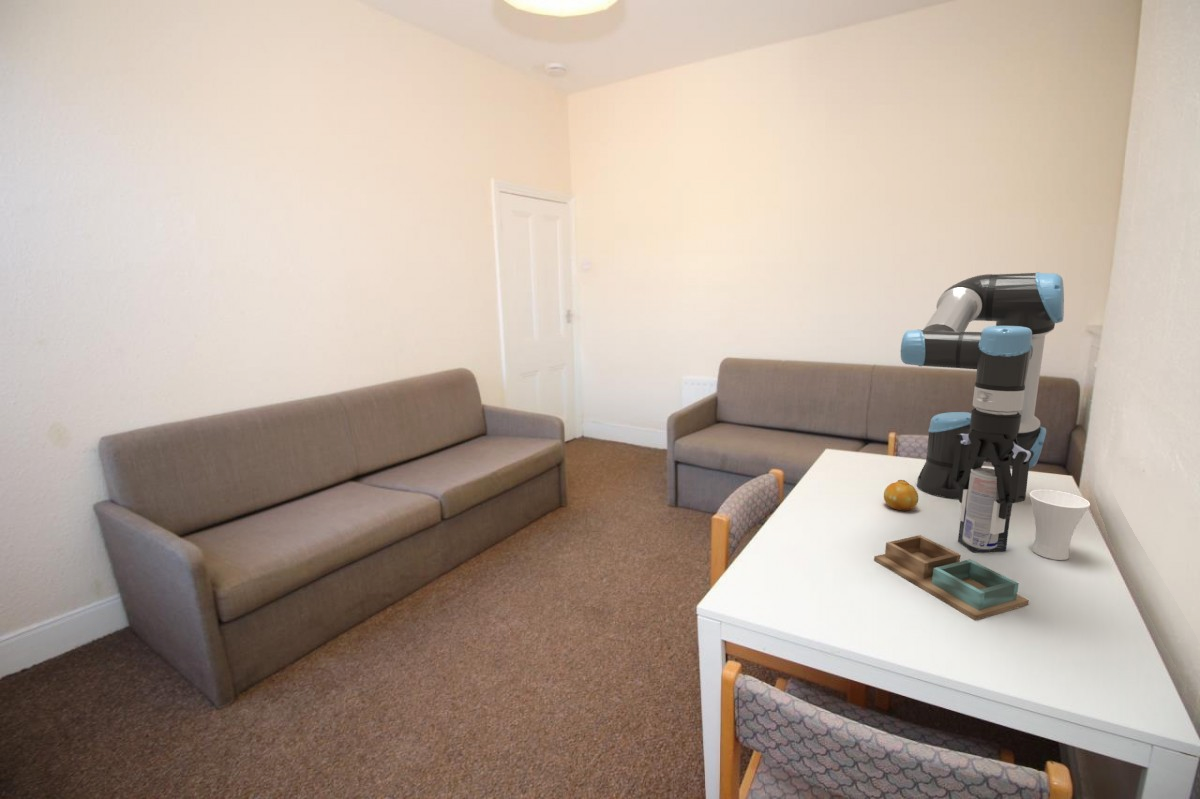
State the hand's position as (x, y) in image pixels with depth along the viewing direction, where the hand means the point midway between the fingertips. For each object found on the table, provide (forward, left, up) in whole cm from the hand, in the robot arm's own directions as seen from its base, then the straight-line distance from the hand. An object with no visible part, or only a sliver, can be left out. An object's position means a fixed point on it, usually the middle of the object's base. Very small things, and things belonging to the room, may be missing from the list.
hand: (981, 525), depth 106 cm
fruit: (-22, -38, -15) cm, 47 cm away
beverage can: (0, 0, -4) cm, 4 cm away
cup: (-32, -6, -15) cm, 36 cm away
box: (-21, -14, -15) cm, 30 cm away
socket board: (0, -6, -15) cm, 16 cm away
